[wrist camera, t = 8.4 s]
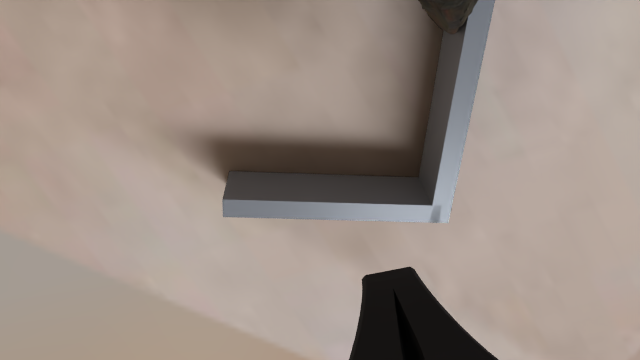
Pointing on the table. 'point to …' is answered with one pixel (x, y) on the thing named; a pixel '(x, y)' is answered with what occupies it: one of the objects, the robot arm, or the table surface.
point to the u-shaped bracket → (385, 191)
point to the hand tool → (448, 12)
